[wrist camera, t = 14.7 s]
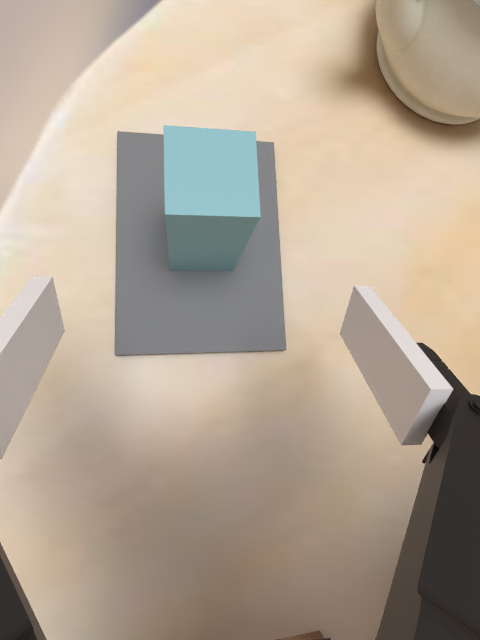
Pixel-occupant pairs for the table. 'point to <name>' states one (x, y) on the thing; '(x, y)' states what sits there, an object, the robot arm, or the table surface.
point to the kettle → (432, 56)
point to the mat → (190, 286)
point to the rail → (305, 636)
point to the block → (209, 196)
